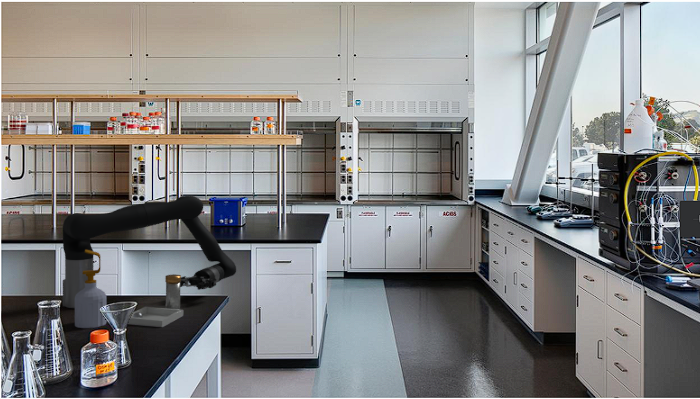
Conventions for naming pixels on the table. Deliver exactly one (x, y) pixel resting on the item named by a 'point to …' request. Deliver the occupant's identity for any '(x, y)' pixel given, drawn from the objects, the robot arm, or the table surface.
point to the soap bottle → (90, 301)
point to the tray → (156, 316)
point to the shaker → (173, 291)
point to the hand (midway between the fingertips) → (187, 286)
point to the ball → (138, 315)
